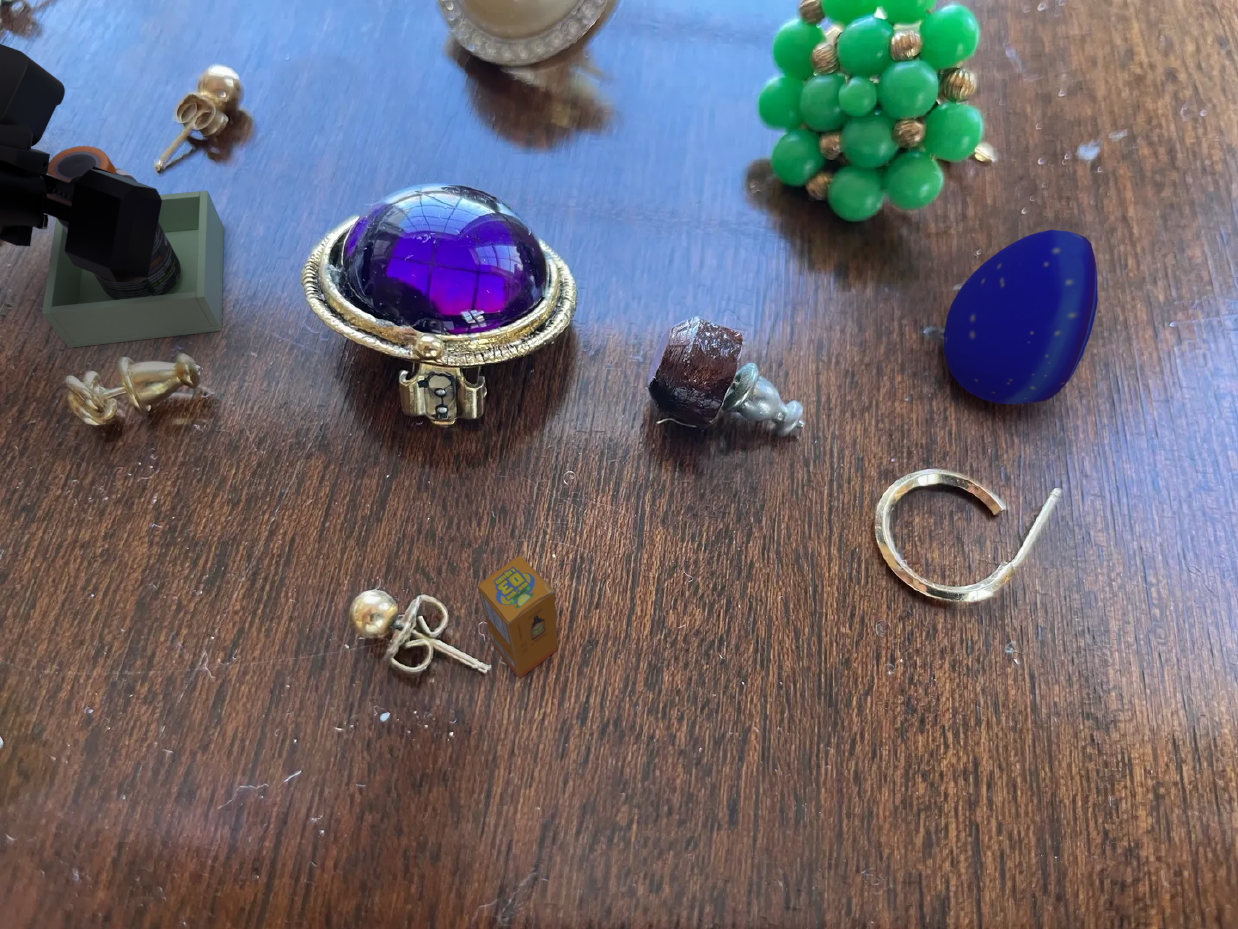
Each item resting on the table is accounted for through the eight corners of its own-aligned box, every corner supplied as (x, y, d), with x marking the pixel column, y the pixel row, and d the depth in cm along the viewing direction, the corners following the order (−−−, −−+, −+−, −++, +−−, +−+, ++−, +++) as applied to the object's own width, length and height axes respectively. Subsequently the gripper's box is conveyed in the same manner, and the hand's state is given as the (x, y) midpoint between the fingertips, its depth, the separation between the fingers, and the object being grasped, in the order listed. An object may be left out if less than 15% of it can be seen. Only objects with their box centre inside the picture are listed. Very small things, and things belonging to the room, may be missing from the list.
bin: (68, 348, 67) (41, 313, 64) (82, 240, 72) (57, 203, 69) (221, 331, 69) (204, 296, 65) (224, 227, 74) (207, 190, 71)
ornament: (1046, 437, 69) (1160, 314, 56) (930, 423, 69) (1018, 297, 56) (1027, 327, 74) (1127, 192, 61) (920, 314, 74) (997, 176, 61)
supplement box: (527, 611, 59) (523, 549, 50) (559, 650, 58) (560, 594, 49) (487, 640, 58) (475, 583, 49) (518, 681, 57) (512, 629, 48)
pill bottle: (157, 238, 72) (96, 121, 62) (197, 279, 70) (140, 166, 60) (88, 275, 69) (13, 159, 60) (127, 318, 67) (57, 206, 58)
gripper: (69, 81, 46) (251, 131, 61) (-212, -18, 49) (29, 52, 64) (39, 285, 49) (220, 285, 64) (-225, 181, 52) (8, 204, 67)
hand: (119, 203), depth 65 cm, fingers closed on pill bottle, 6 cm apart
